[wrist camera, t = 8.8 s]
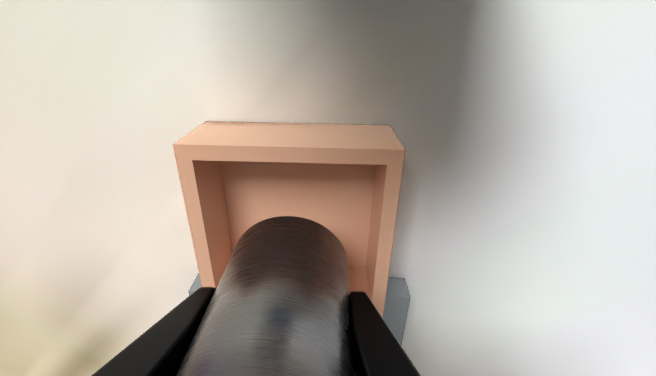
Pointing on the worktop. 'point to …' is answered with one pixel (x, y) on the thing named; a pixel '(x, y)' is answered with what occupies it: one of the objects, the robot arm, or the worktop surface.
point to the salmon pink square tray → (293, 190)
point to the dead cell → (278, 307)
